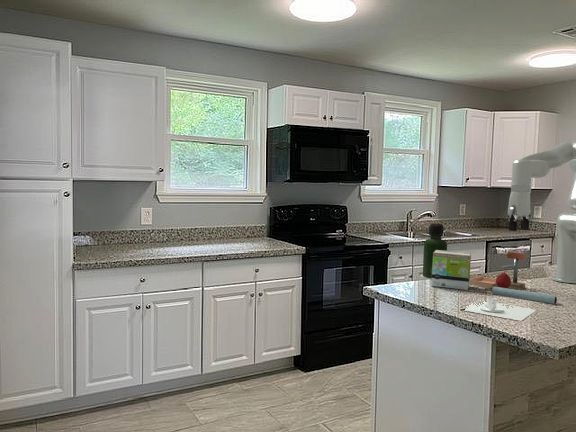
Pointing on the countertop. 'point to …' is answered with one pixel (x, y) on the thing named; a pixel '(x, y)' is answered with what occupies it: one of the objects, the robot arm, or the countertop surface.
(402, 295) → the countertop surface
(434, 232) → the green bottle
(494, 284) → the dish
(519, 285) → the tan frame with plate
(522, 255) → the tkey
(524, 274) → the countertop surface
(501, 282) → the onion
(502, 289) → the aluminum foil
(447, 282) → the tea box
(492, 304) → the teacup and saucer
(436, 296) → the countertop surface
